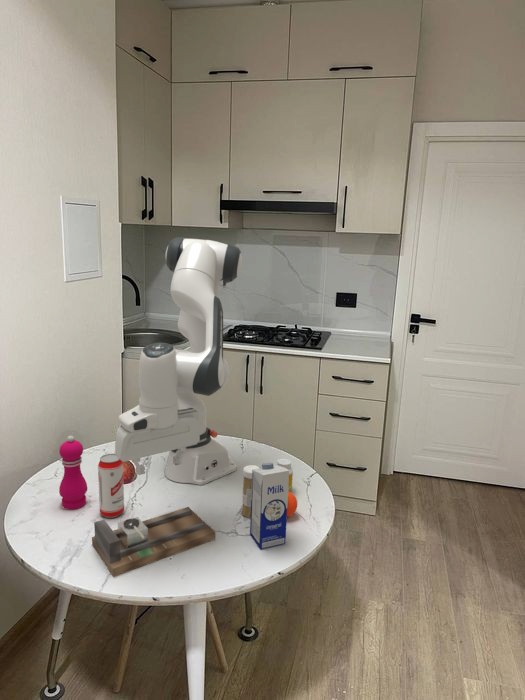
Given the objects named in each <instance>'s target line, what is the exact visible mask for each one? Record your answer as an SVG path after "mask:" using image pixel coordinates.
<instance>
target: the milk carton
mask: <svg viewBox="0 0 525 700" xmlns="http://www.w3.org/2000/svg"><path fill="white" fill-rule="evenodd" d="M289 471H290V470H288V469H287V468H284V467H281V466H278V465H277V464H276V465H274V463H273V462H266V463H262V464H261V468H260V467H259V469H252V493H251V517H250V524H249V525H250V527H249V535H250V537H251V539H253V541H254V542H255V544H256V545H257V547H258V548H259V550H264V549H269V548H273V547H277V546H282V545H286V542H287V541H286V540H287V537H286V536H287V535H286V534H287V522H288V521H287V520H288V517H287V504H288V485H289Z"/></svg>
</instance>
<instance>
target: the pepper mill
mask: <svg viewBox="0 0 525 700" xmlns="http://www.w3.org/2000/svg"><path fill="white" fill-rule="evenodd" d="M83 453H84V447H83V444H82V442H80V441H78V440H75V437H74V436H73V435H68V436H67V438H66V441H64V442H63V443H61V445H60V447H59V455H60V458H62V459H61V462H62V463H61V464H62V466H63V469H64V470H63V471H64V472H63V476H62V479H61V481H60V484H59V489H58V490H59V491H58V492H59V495H60V497H61V507H62V508H63V509H65V510H77V509H80V508H82V507H84V506H85V505H86V503H87V496H86V493H87V492H88V483H87V480H86V479H85V477H84V476H83V473H82V469H81V464H82V461H83V460H82V458H83V457H82V455H83Z"/></svg>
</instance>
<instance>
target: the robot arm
mask: <svg viewBox="0 0 525 700" xmlns="http://www.w3.org/2000/svg"><path fill="white" fill-rule="evenodd" d="M164 255H165V261H166V263H165V264H166V267H167V268H168V269H169V271H170V272H173V274H172V278H171V282H170V297H171V298H172V301H173V302H174V304H175V306H177V307H178V308H179V309H180V310H179V314H178V319H177V329H178V332H180V334H181V335H182V336H184V337H185V338H186V339H187V340H188V341H189V345H190V348H189V350H185V349H177V348H175V347H174V346H173V345H172V344H170V343H167V342H155V343H150V344H147V345H145V346H144V347H142V349H141V352H140V356H139V357H140V358H139V363H138V364H139V365H138V387H139V391H140V395H139V398H138V404H137V405H136V406H135V407H134V406H133V408H131V409H129V410H127V411H125V412H123V413H121V414H119V416H118V417H117V418H118V424H120V426H119V427H118V428H117V431H116V433H115V441H114V443H115V444H114V452H115V453H114V454H116V456H117V457H118V458H119V459H120V460H122V462H125V463H126V462H129V461H131V462H132V463H133V465H134V466H135V470H136V471H135V472H136V474H137V475H138V476H140V475H145V474H146V471H145V470H146V467H145V466H144V465H143V464H139V463H140V462H141V459H142V458H147V457H149V456H155V455H158V454H159V455H160V454H162V453H166V452H168V456H167V457H168V458H167V464H166V467H165V471H164V475H165V477H166V478H167V479H168V480H171V481H173V482H176V483H181V484H194V485H198V486H202V485H206V484H208V483H210V482H212V481H215V480H217V479H220V478H222V477H224V476H226V475H228V474H231V473H233V472H235V471H237V465H236V463H235V462H234V461H233V460H232V459H231V458H230V457H229V452H228V450H227V449H226V447H224V445H222V444H221V443H220V442H218V441H217V440H215V438H217V437H218V434H219V433H218V432H217V431H216V430H214V429H212V430H211V428H209V427H208V426H207V406H206V403H205V402H204V401H203V400H202V399H201V398H199V397H198V396H197V394H198V395H203V396H206V397H207V396H208V397H209V396H212V395H213V394H214V393H216V392H217V391H220V390H222V389H223V388H224V387H226V385H228V382H229V380H230V375H231V369H230V364H229V363H228V361H227V359H226V358H225V357H224V309H223V305H222V301H221V299H220V291H221V290H220V288H221V287H220V285H221V284H220V282H221V281H222V286H223V287H226V285H227V284H229V283H231V282H233V281H235V280H236V279H237V278H238V276H239V274H240V273H241V271H242V268H243V257H242V256H243V255H242V252H241V250H240V248H239V247H237V246H236V245H233V244H230V243H228V244H227V243H223V242H220V241H216V240H212V239H211V240H210V239H201V238H200V239H198V238H186V237H184V236H183V237H182V236H180V237H174V238H173V239H172V240H170V241H169V242H168V245H167V247H166V251H165V254H164Z"/></svg>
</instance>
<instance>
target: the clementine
mask: <svg viewBox="0 0 525 700" xmlns="http://www.w3.org/2000/svg"><path fill="white" fill-rule="evenodd" d="M297 509H298V500H297V497H296V496H295V494H294V493H292V491H291V492H289V491H288V504H287V518H290V517H291V516H293V515H294V514H295V513H296V511H297Z"/></svg>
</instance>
